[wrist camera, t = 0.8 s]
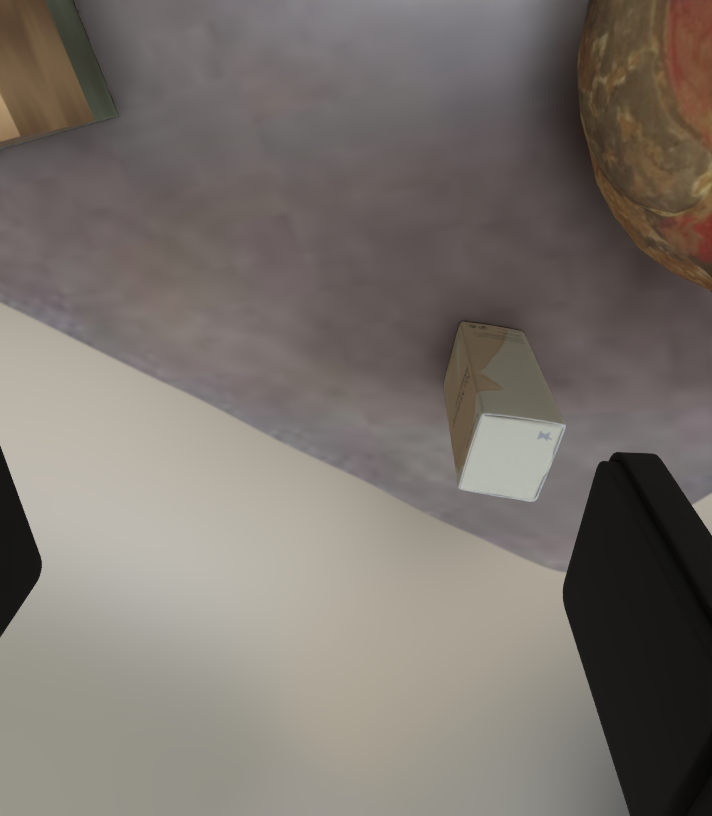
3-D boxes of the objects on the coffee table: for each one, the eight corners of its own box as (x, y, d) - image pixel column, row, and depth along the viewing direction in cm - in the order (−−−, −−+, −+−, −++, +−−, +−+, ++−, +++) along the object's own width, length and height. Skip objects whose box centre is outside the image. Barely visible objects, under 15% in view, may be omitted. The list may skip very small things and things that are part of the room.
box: (459, 319, 37) (483, 407, 28) (526, 330, 38) (571, 421, 28) (440, 390, 40) (456, 493, 31) (502, 400, 40) (537, 505, 31)
